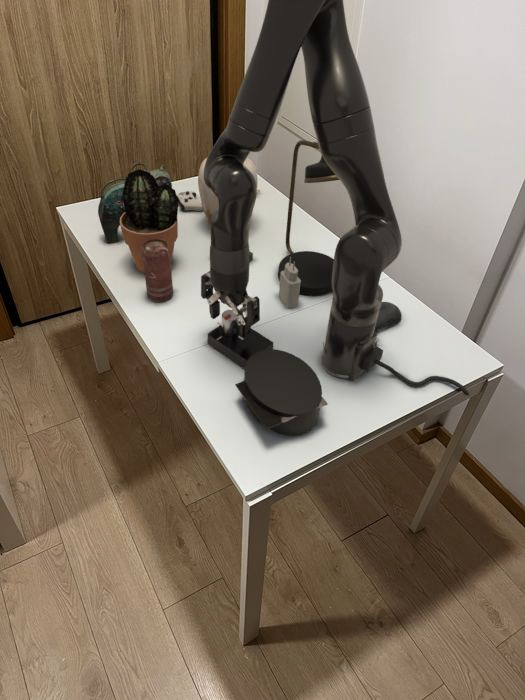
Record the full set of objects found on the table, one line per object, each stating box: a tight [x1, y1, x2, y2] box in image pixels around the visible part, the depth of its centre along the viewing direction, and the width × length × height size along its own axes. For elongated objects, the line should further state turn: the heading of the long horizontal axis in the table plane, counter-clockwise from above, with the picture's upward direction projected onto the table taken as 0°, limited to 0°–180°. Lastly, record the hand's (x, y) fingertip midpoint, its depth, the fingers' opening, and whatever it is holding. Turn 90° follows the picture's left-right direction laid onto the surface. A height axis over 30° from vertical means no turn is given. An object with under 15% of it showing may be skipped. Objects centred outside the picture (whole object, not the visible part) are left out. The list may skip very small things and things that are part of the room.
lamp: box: [277, 139, 340, 297], centre depth 123 cm, size 16×22×38 cm
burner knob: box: [221, 309, 240, 337], centre depth 113 cm, size 4×4×5 cm
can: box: [142, 239, 174, 303], centre depth 123 cm, size 6×6×14 cm
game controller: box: [176, 190, 204, 212], centre depth 158 cm, size 10×5×6 cm
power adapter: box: [278, 257, 301, 309], centre depth 124 cm, size 3×5×12 cm, turn 24°
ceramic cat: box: [97, 162, 173, 244], centre depth 139 cm, size 20×6×20 cm, turn 115°
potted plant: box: [119, 168, 179, 273], centre depth 128 cm, size 14×14×25 cm
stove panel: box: [206, 320, 274, 370], centre depth 115 cm, size 13×8×3 cm, turn 48°
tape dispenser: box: [234, 348, 329, 437], centre depth 103 cm, size 14×18×8 cm
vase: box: [197, 157, 258, 225], centre depth 143 cm, size 16×16×23 cm
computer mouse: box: [374, 301, 402, 345], centre depth 122 cm, size 10×15×4 cm
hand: (229, 325), depth 113 cm, fingers open, 8 cm apart
